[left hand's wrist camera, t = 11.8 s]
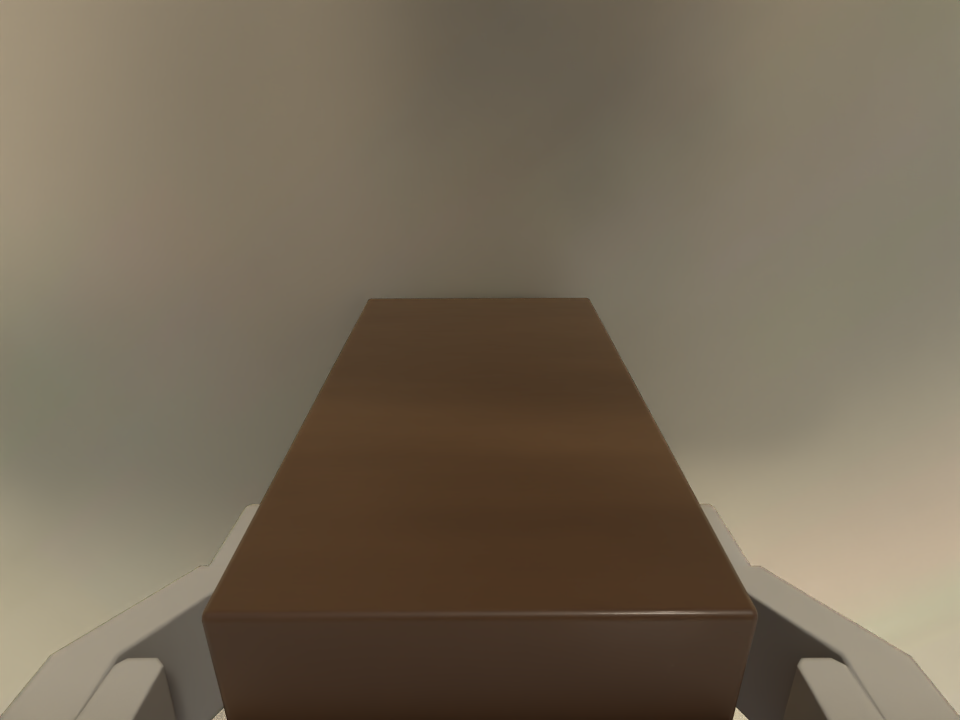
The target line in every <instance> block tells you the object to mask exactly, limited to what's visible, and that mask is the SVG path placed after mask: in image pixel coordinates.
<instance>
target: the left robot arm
mask: <svg viewBox="0 0 960 720" xmlns="http://www.w3.org/2000/svg"><path fill="white" fill-rule="evenodd" d="M259 505H260V504H251V505H249V506H247V507H246V508H245V509H244V510H243V512H242V513H241V515H240V517H239V518H238V520H237V521H236V523H235V525H234V526H233V528H232V530H231V531H230V533H229V534H228V536H227V538H226V539H225V541H224V542H223V544H222V546H221V547H220V549H219V550H218V552H217V554H216V555H215V557H214V559H213V560H212V562H211V563H210V565H209V566H199V567H197V568H196V569H194V570H192V571H191V572H189V573H187V574H186V575H184V576H182V577H181V578H179V579H177V580H176V581H174V582H172V583H171V584H169V585H167V586H166V587H164V588H162V589H160V590H159V591H157V592H155V593H154V594H152V595H150V596H149V597H147V598H145V599H144V600H142V601H140V602H139V603H137V604H135V605H134V606H132V607H130V608H129V609H127V610H125V611H124V612H122V613H120V614H119V615H117V616H115V617H114V618H112V619H110V620H108V621H107V622H105V623H103V624H102V625H100V626H98V627H97V628H95V629H93V630H92V631H90V632H88V633H87V634H85V635H83V636H82V637H80V638H78V639H77V640H75V641H73V642H72V643H70V644H68V645H67V646H65V647H63V648H62V649H60V650H58V651H56V652H55V653H53V654H51V655H50V656H49V657H48V659H47V660H46V661H45V662H44V664H43V665H42V666H41V667H40V668H39V670H38V671H37V672H36V673H35V675H34V676H33V677H32V678H31V680H30V681H29V682H28V683H27V684H26V686H25V687H24V688H23V689H22V691H21V692H20V693H19V694H18V695H17V697H16V698H15V699H14V700H13V702H12V703H11V704H10V705H9V706H8V708H7V709H6V710H5V711H4V713H3V714H2V715H1V716H0V720H212V719H213V718H214V717H215V716H216V715H217V714H218V713H219V712H220V711H221V710H222V709H223V708H224V706H223V702H222V698H221V694H220V690H219V686H218V682H217V678H216V675H215V671H214V667H213V663H212V659H211V655H210V651H209V647H208V643H207V640H206V636H205V632H204V628H203V624H202V614H203V611H204V609H205V607H206V605H207V603H208V601H209V600H210V598H211V596H212V594H213V592H214V590H215V588H216V586H217V584H218V583H219V581H220V579H221V577H222V575H223V573H224V571H225V569H226V568H227V566H228V564H229V562H230V560H231V558H232V556H233V554H234V552H235V551H236V549H237V547H238V545H239V543H240V541H241V539H242V537H243V535H244V534H245V532H246V530H247V528H248V526H249V524H250V522H251V520H252V519H253V517H254V515H255V513H256V511H257V509H258V507H259ZM700 506H701V508H702V510H703V511H704V513H705V515H706V517H707V519H708V521H709V523H710V524H711V526H712V528H713V530H714V532H715V534H716V536H717V537H718V539H719V541H720V543H721V545H722V547H723V549H724V550H725V552H726V554H727V556H728V558H729V560H730V562H731V563H732V565H733V567H734V569H735V571H736V573H737V575H738V576H739V578H740V580H741V582H742V584H743V586H744V588H745V589H746V591H747V593H748V595H749V597H750V599H751V601H752V602H753V604H754V606H755V608H756V610H757V614H758V620H757V624H756V628H755V632H754V636H753V640H752V644H751V648H750V652H749V656H748V660H747V664H746V668H745V672H744V676H743V680H742V684H741V688H740V692H739V696H738V700H737V704H736V707H737V708H738V709H739V710H740V711H741V712H742V713H743V714H744V715H745V716H746V717H747V718H748V719H749V720H960V716H959V715H958V714H957V712H956V711H955V710H954V709H953V708H952V706H951V705H950V704H949V703H948V701H947V700H946V699H945V698H944V696H943V695H942V694H941V693H940V691H939V690H938V689H937V688H936V687H935V685H934V684H933V683H932V682H931V680H930V679H929V678H928V677H927V675H926V674H925V673H924V672H923V670H922V669H921V668H920V667H919V666H918V664H917V663H916V662H915V661H914V659H913V658H912V657H911V656H910V655H908V654H906V653H905V652H903V651H901V650H900V649H898V648H896V647H895V646H893V645H891V644H890V643H888V642H886V641H885V640H883V639H881V638H880V637H878V636H876V635H875V634H873V633H871V632H870V631H868V630H866V629H865V628H863V627H861V626H860V625H858V624H856V623H855V622H853V621H851V620H850V619H848V618H846V617H845V616H843V615H841V614H840V613H838V612H836V611H835V610H833V609H831V608H830V607H828V606H826V605H825V604H823V603H821V602H820V601H818V600H816V599H814V598H813V597H811V596H809V595H808V594H806V593H804V592H803V591H801V590H799V589H798V588H796V587H794V586H793V585H791V584H789V583H788V582H786V581H784V580H783V579H781V578H779V577H778V576H776V575H774V574H773V573H771V572H769V571H768V570H766V569H764V568H763V567H761V566H751V565H750V563H749V562H748V560H747V559H746V557H745V555H744V554H743V552H742V551H741V549H740V547H739V546H738V544H737V543H736V541H735V539H734V538H733V536H732V535H731V533H730V531H729V530H728V528H727V527H726V525H725V524H724V522H723V520H722V519H721V517H720V516H719V514H718V512H717V511H716V509H715V508H714V506H712V505H710V504H700Z"/></svg>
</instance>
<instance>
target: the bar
mask: <svg viewBox="0 0 960 720" xmlns="http://www.w3.org/2000/svg"><path fill="white" fill-rule="evenodd" d="M757 620H758V614H757V610H756V608H755V606H754V604H753V602H752V601H751V599H750V597H749V595H748V593H747V591H746V589H745V588H744V586H743V584H742V582H741V580H740V578H739V576H738V575H737V573H736V571H735V569H734V567H733V565H732V563H731V562H730V560H729V558H728V556H727V554H726V552H725V550H724V549H723V547H722V545H721V543H720V541H719V539H718V537H717V536H716V534H715V532H714V530H713V528H712V526H711V524H710V523H709V521H708V519H707V517H706V515H705V513H704V511H703V510H702V508H701V506H700V504H699V502H698V500H697V498H696V497H695V495H694V493H693V491H692V489H691V487H690V485H689V484H688V482H687V480H686V478H685V476H684V474H683V472H682V471H681V469H680V467H679V465H678V463H677V461H676V459H675V458H674V456H673V454H672V452H671V450H670V448H669V446H668V444H667V443H666V441H665V439H664V437H663V435H662V433H661V431H660V430H659V428H658V426H657V424H656V422H655V420H654V418H653V417H652V415H651V413H650V411H649V409H648V407H647V405H646V404H645V402H644V400H643V398H642V396H641V394H640V392H639V391H638V389H637V387H636V385H635V383H634V381H633V379H632V378H631V376H630V374H629V372H628V370H627V368H626V366H625V365H624V363H623V361H622V359H621V357H620V355H619V353H618V352H617V350H616V348H615V346H614V344H613V342H612V340H611V339H610V337H609V335H608V333H607V331H606V329H605V327H604V326H603V324H602V322H601V320H600V318H599V316H598V314H597V313H596V311H595V309H594V307H593V305H592V303H591V301H590V300H589V299H588V298H447V299H369V300H368V302H367V304H366V305H365V307H364V309H363V311H362V313H361V315H360V317H359V319H358V321H357V322H356V324H355V326H354V328H353V330H352V332H351V334H350V336H349V337H348V339H347V341H346V343H345V345H344V347H343V349H342V351H341V353H340V354H339V356H338V358H337V360H336V362H335V364H334V366H333V368H332V370H331V371H330V373H329V375H328V377H327V379H326V381H325V383H324V385H323V387H322V388H321V390H320V392H319V394H318V396H317V398H316V400H315V402H314V403H313V405H312V407H311V409H310V411H309V413H308V415H307V417H306V419H305V420H304V422H303V424H302V426H301V428H300V430H299V432H298V434H297V436H296V437H295V439H294V441H293V443H292V445H291V447H290V449H289V451H288V453H287V454H286V456H285V458H284V460H283V462H282V464H281V466H280V468H279V469H278V471H277V473H276V475H275V477H274V479H273V481H272V483H271V485H270V486H269V488H268V490H267V492H266V494H265V496H264V498H263V500H262V502H261V503H260V505H259V507H258V509H257V511H256V513H255V515H254V517H253V519H252V520H251V522H250V524H249V526H248V528H247V530H246V532H245V534H244V535H243V537H242V539H241V541H240V543H239V545H238V547H237V549H236V551H235V552H234V554H233V556H232V558H231V560H230V562H229V564H228V566H227V568H226V569H225V571H224V573H223V575H222V577H221V579H220V581H219V583H218V584H217V586H216V588H215V590H214V592H213V594H212V596H211V598H210V600H209V601H208V603H207V605H206V607H205V609H204V611H203V614H202V624H203V628H204V632H205V636H206V640H207V643H208V647H209V651H210V655H211V659H212V663H213V667H214V671H215V675H216V678H217V682H218V686H219V690H220V694H221V698H222V702H223V706H224V710H225V713H226V717H227V720H733V716H734V712H735V708H736V704H737V700H738V696H739V692H740V688H741V684H742V680H743V676H744V672H745V668H746V664H747V660H748V656H749V652H750V648H751V644H752V640H753V636H754V632H755V628H756V624H757Z"/></svg>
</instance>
